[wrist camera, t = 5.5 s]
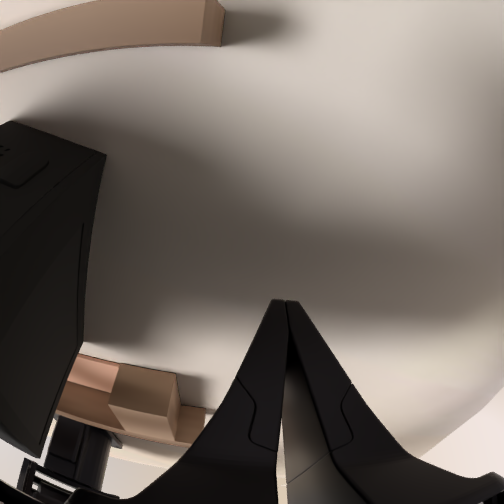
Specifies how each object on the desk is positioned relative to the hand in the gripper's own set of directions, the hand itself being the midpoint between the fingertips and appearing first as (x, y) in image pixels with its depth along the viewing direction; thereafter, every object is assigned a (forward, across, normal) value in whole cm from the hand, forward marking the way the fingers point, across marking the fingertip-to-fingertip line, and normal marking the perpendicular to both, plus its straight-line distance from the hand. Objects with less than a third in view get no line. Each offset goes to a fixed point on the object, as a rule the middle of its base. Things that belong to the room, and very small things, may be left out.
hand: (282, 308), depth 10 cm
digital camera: (+2, +10, 0) cm, 10 cm away
